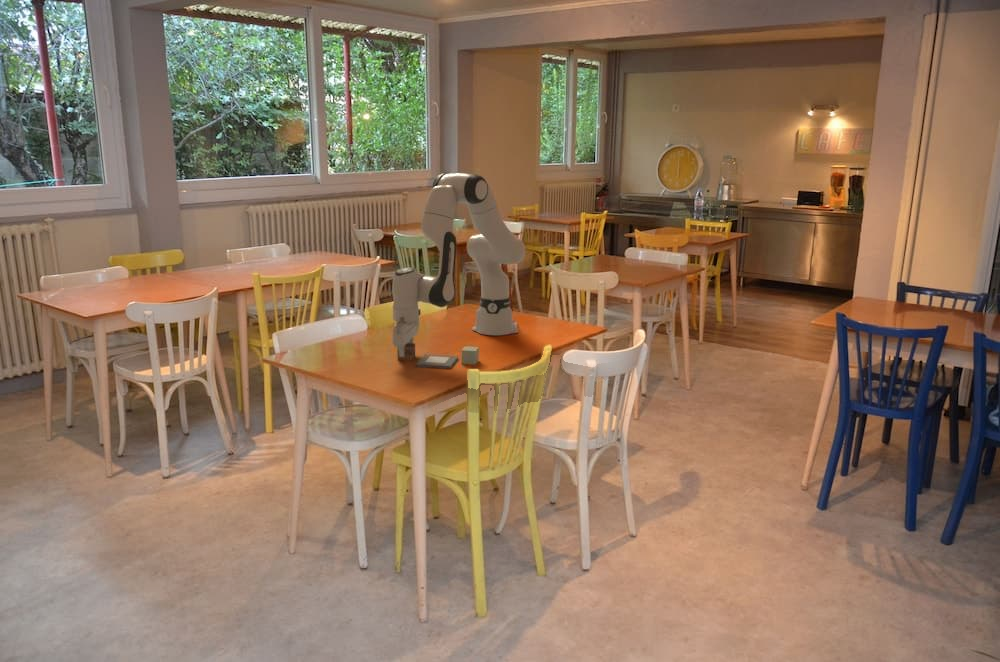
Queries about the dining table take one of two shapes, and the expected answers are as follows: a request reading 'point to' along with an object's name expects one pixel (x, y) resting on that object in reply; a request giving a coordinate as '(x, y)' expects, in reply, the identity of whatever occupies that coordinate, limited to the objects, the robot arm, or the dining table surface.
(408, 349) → the walnut block
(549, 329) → the dining table surface
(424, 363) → the base plate
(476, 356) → the sage block
